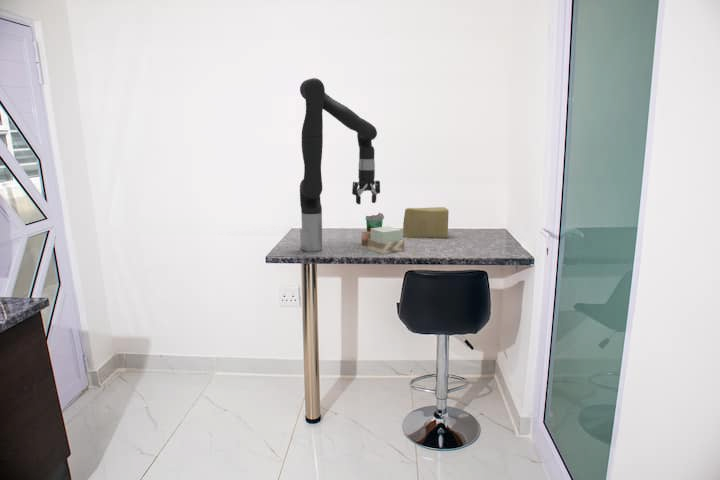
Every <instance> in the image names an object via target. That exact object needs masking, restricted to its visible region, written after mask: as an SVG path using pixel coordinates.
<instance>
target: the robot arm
mask: <svg viewBox="0 0 720 480" xmlns="http://www.w3.org/2000/svg"><path fill="white" fill-rule="evenodd" d="M299 92H300V95H301V97H302V98H303V99H304V100H305V115H304V119H303V124H302V128H301V152H302V159H303V165H304V167H303V168H304V169H303V170H304V172H303V178H302V180H301V182H300V185H299V200H300V201H299V202H300V210H301V211H300V212H301V213H300V214H301V228H300V230H299V232H300V233H299V235H300V237H299V238H300V250H302V251H303V252H307V253H308V252H310V253H313V252H319V251H323V246H324V245H323V213H322V212H323V210H322V209H323V208H322V204H321V194H322V192H323V179H322V160H323V159H322V158H323V145H324V144H323V141H324V137H323V136H324V135H323V134H324V133H323V132H324V131H323V129H324V127H323V126H324V123H323V119H324V118H323V111H325V112H327V113H328V114H330V116H332V117H334V118H335V119H336V120H338V121H339V122H340V123H341V124H342V125H344V126H345V127H347V128H348V129H349V130H351V131H354V132H356V134H357V135H356V137H357V144H358V149H359V150H358V151H359V152H358V154H359V155H358V181H353V182H352V189H351V191H352V192H351V193H352V195H353V196H355V203H356V205H361V201H362V200H361V198H362V197H361V195H362V194H363V193H364V192H366V191H367V192H368V191H370V194H371V203H373V204H375V203H376V202H377V195H378V194H381V182H380V180H375V177H376V175H375V174H376V172H375V171H376V169H375V167H376V163H375V147H374V146H373V143H372V141H373V140H375V139H376V137H377V136H378V131H377V128H376V126H374V125H373V124H372V123H371V122H368V121H367V120H366V119H364V118H361V117H360V116H359V115H358V114H357V113H356V112H354V111H353V110H351V109H350V108H349V107H347V106H346V105H344V104H342V103H340V102H339V101H337V100H335V99H334V98H332V96H330V95H329V94H327V93H326V92H325V85H324V83H323V82H322V80H321V79H319V78H316V77H312V78H309V79H306V80H304V81H303V82H302V83H301V84H300V86H299Z"/></svg>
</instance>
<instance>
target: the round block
mask: <svg viewBox="0 0 720 480" xmlns="http://www.w3.org/2000/svg"><path fill="white" fill-rule="evenodd" d="M368 239H371V232H367V231H362V232H361V246H362V247H363V246H364V247H368Z"/></svg>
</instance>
